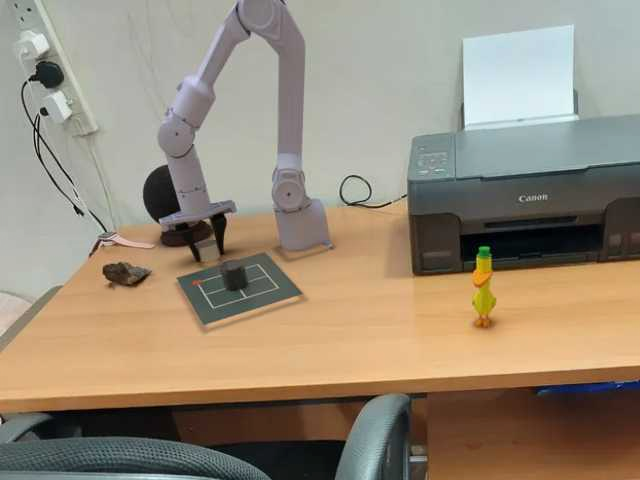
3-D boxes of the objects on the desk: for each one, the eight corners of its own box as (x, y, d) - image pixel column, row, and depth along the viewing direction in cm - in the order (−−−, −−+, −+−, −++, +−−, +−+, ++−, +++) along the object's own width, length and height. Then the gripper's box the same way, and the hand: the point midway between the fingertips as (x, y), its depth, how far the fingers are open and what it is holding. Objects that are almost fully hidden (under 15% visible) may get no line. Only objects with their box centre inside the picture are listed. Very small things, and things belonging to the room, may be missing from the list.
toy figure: (488, 336, 99) (489, 261, 91) (465, 334, 100) (463, 260, 92) (499, 314, 103) (500, 241, 96) (476, 312, 105) (476, 239, 97)
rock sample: (164, 252, 129) (122, 236, 122) (162, 289, 127) (119, 275, 121) (137, 268, 136) (96, 253, 129) (135, 303, 134) (93, 290, 128)
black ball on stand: (192, 250, 138) (171, 177, 129) (144, 246, 143) (120, 175, 134) (227, 225, 147) (210, 155, 138) (181, 222, 152) (161, 154, 143)
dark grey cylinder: (244, 277, 122) (239, 256, 120) (251, 286, 119) (246, 265, 116) (221, 284, 121) (216, 263, 119) (228, 293, 118) (222, 272, 115)
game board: (266, 257, 131) (264, 251, 130) (305, 300, 115) (303, 293, 114) (177, 283, 127) (175, 277, 126) (205, 331, 110) (203, 325, 110)
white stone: (219, 256, 134) (213, 237, 132) (224, 263, 131) (219, 244, 129) (198, 262, 133) (192, 243, 131) (203, 269, 130) (197, 250, 128)
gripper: (222, 172, 128) (238, 239, 136) (148, 191, 124) (169, 259, 132) (232, 181, 122) (248, 251, 131) (155, 201, 119) (177, 271, 127)
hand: (209, 256), depth 131 cm, fingers closed on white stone, 4 cm apart
